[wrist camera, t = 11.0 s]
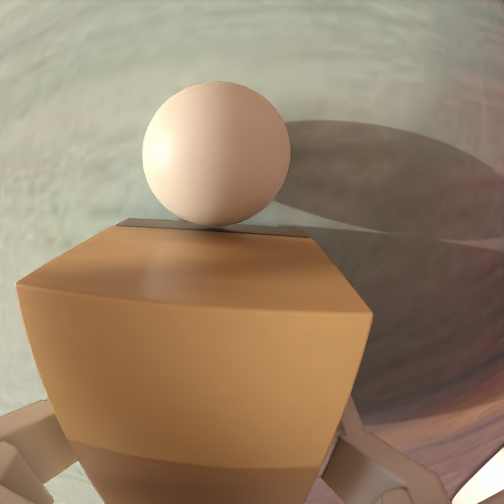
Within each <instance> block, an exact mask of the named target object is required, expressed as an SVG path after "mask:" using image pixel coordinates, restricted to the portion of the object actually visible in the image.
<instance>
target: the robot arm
mask: <svg viewBox="0 0 504 504" xmlns="http://www.w3.org/2000/svg"><path fill="white" fill-rule="evenodd" d="M76 461H78V459H77V457H76V455H75V453H74V451H73V450H72V448H71V446H70V444H69V442H68V440H67V438H66V436H65V434H64V432H63V430H62V428H61V426H60V423H59V421H58V419H57V417H56V415H55V412H54V410H53V408H52V405H51V403H50V401H49V398H48V399H47V400H46V401H44V400H40V401H37V402H35V403H33V404H30V405H28V406H25V407H23V408H21V409H18V410H16V411H13V412H11V413H8V414H6V415H3V416H1V417H0V504H53V502H54V499H53V497H52V496H51V494H50V493H49V492H48V491H47V490H46V488H45V487H44V486H43V484H44V483H46V482H47V481H49V480H50V479H52V478H53V477H55V476H56V475H57V474H59V473H60V472H62V471H63V470H65V469H66V468H68V467H69V466H70V465H72V464H73V463H75V462H76ZM317 477H322V479H323V480H324V481H325V482H326V483H327V484H328V486H329V487H330V488H331V489H332V490H333V491H334V492H335V493H336V494H337V495H338V496H339V497H340V498H341V499H342V500H343V501H344V502H345V503H346V504H504V447H503V448H502V449H501V450H500V451H499V452H498V453H497V454H496V455H495V456H494V457H493V458H492V459H491V460H490V461H489V462H487V463H486V464H485V465H484V466H483V467H482V468H481V469H480V470H479V471H478V472H477V473H476V474H475V475H474V476H473V477H472V478H471V479H470V480H469V481H468V482H467V483H466V484H465V485H464V486H463V487H462V489H461V490H460V491H459V492H458V493H457V494H456V496H455V497H454V499H453V500H452V502H451V500H450V498H449V496H448V494H447V492H446V490H445V488H444V486H443V484H442V482H441V480H440V478H439V476H438V475H437V474H435V473H434V472H432V471H430V470H429V469H427V468H425V467H424V466H422V465H421V464H419V463H417V462H416V461H414V460H412V459H411V458H409V457H408V456H406V455H405V454H403V453H401V452H400V451H398V450H397V449H395V448H394V447H392V446H391V445H389V444H388V443H386V442H385V441H383V440H382V439H380V438H379V437H377V436H376V435H374V434H373V433H366V431H365V428H364V426H363V423H362V421H361V418H360V416H359V413H358V411H357V408H356V406H355V404H354V401H353V399H352V396H351V394H350V396H349V399H348V402H347V405H346V408H345V410H344V413H343V416H342V418H341V421H340V424H339V426H338V429H337V431H336V434H335V436H334V439H333V441H332V444H331V446H330V448H329V451H328V453H327V455H326V458H325V460H324V462H323V464H322V467H321V469H320V471H319V473H318V475H317Z"/></svg>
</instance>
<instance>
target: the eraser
mask: <svg viewBox="0 0 504 504" xmlns="http://www.w3.org/2000/svg"><path fill="white" fill-rule="evenodd" d="M15 288H16V293H17V297H18V302H19V307H20V311H21V315H22V319H23V323H24V327H25V330H26V334H27V338H28V341H29V344H30V348H31V351H32V354H33V357H34V360H35V363H36V366H37V369H38V372H39V375H40V378H41V380H42V383H43V386H44V388H45V391H46V393H47V396H48V398H49V401H50V403H51V405H52V408H53V410H54V412H55V415H56V417H57V419H58V421H59V423H60V426H61V428H62V430H63V432H64V434H65V436H66V438H67V440H68V442H69V444H70V446H71V448H72V450H73V451H74V453H75V455H76V457H77V459H78V461H79V462H80V464H81V466H82V468H83V469H84V471H85V473H86V474H87V476H88V478H89V479H90V481H91V483H92V484H93V486H94V487H95V489H96V491H97V492H98V494H99V495H100V497H101V498H102V500H103V501H104V503H105V504H304V502H305V500H306V498H307V496H308V494H309V492H310V490H311V488H312V486H313V484H314V482H315V480H316V478H317V475H318V473H319V471H320V469H321V467H322V464H323V462H324V460H325V458H326V455H327V453H328V451H329V448H330V446H331V444H332V441H333V439H334V436H335V434H336V431H337V429H338V426H339V424H340V421H341V418H342V416H343V413H344V410H345V408H346V405H347V402H348V399H349V396H350V394H351V391H352V388H353V385H354V382H355V379H356V376H357V373H358V370H359V366H360V363H361V360H362V357H363V353H364V350H365V346H366V343H367V339H368V336H369V332H370V329H371V325H372V321H373V317H374V316H373V312H372V311H371V310H370V308H369V307H368V306H367V304H366V303H365V302H364V301H363V299H362V298H361V297H360V295H359V294H358V293H357V292H356V290H355V289H354V288H353V287H352V285H351V284H350V283H349V282H348V280H347V279H346V278H345V277H344V275H343V274H342V273H341V272H340V271H339V269H338V268H337V267H336V266H335V264H334V263H333V262H332V261H331V259H330V258H329V257H328V256H327V255H326V253H325V252H324V251H323V250H322V249H321V247H320V246H319V245H318V244H317V243H316V241H315V240H314V239H312V238H311V237H310V236H309V234H308V233H307V232H306V231H305V230H304V229H298V228H285V227H272V226H258V225H243V224H231V225H225V226H205V225H199V224H195V223H191V222H189V221H177V220H157V219H136V218H128V219H126V220H124V221H122V222H121V223H119V224H117V225H115V226H111V227H109V228H108V229H106V230H104V231H102V232H100V233H98V234H97V235H95V236H93V237H91V238H89V239H88V240H86V241H84V242H82V243H80V244H79V245H77V246H75V247H73V248H72V249H70V250H68V251H67V252H65V253H63V254H61V255H60V256H58V257H56V258H55V259H53V260H51V261H50V262H48V263H46V264H45V265H43V266H41V267H40V268H38V269H37V270H35V271H33V272H32V273H30V274H29V275H27V276H25V277H24V278H22V279H21V280H19V281H18V282H16V284H15Z"/></svg>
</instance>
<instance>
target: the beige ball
mask: <svg viewBox="0 0 504 504" xmlns="http://www.w3.org/2000/svg"><path fill="white" fill-rule="evenodd" d="M290 156H291V153H290V142H289V136H288V132H287V129H286V126H285V124H284V122H283V120H282V118H281V117H280V115H279V114H278V112H277V111H276V109H275V108H274V107H273V106H272V105H271V103H270V102H269V101H268V100H266V99H265V98H264V97H263V96H261V95H260V94H258V93H257V92H255V91H253V90H251V89H249V88H247V87H245V86H242V85H239V84H235V83H230V82H221V81H216V82H205V83H200V84H197V85H193V86H191V87H188V88H186V89H184V90H182V91H180V92H178V93H177V94H175V95H174V96H172V97H171V98H170V99H169V100H167V101H166V102H165V103H164V104H163V105H162V106H161V107H160V109H159V110H158V111H157V113H156V114H155V115H154V117H153V119H152V121H151V122H150V124H149V126H148V129H147V131H146V134H145V138H144V142H143V152H142V157H143V168H144V173H145V176H146V179H147V181H148V184H149V186H150V188H151V190H152V192H153V193H154V195H155V196H156V197H157V199H158V200H159V201H160V202H161V203H162V204H163V205H164V206H165V207H166V208H167V209H168V210H169V211H171V212H172V213H173V214H175V215H176V216H178V217H180V218H182V219H184V220H186V221H189V222H191V223H195V224H199V225H205V226H225V225H231V224H235V223H239V222H242V221H244V220H246V219H249V218H250V217H252V216H254V215H256V214H257V213H259V212H260V211H261V210H263V209H264V208H265V207H266V206H267V205H268V204H269V203H270V202H271V201H272V200H273V199H274V198H275V196H276V195H277V194H278V192H279V191H280V189H281V187H282V186H283V183H284V181H285V179H286V176H287V172H288V169H289V165H290Z"/></svg>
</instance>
